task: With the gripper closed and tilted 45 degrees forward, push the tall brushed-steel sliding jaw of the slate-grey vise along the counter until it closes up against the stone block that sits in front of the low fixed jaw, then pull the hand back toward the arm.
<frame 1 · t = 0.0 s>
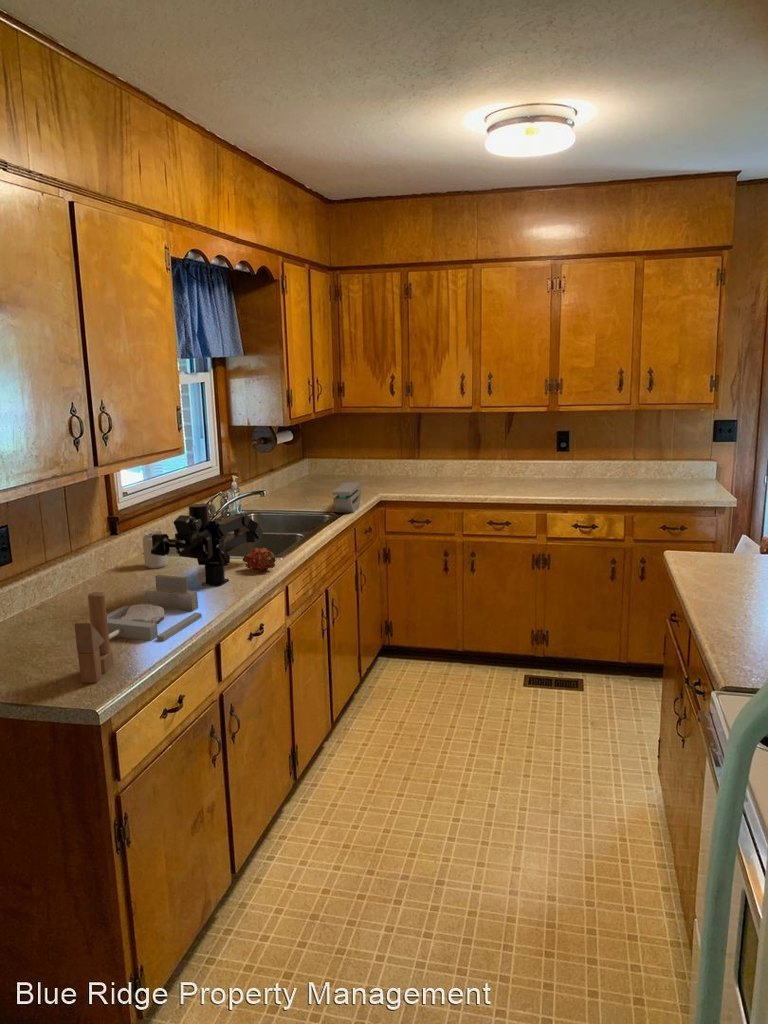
hand: (165, 553, 209), 17 cm above the worktop, tool horizontal, fingers open, 9 cm apart
stone block: (145, 624, 202), on the worktop
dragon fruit: (259, 571, 249), on the worktop
can: (156, 566, 256), on the worktop
wooden block: (98, 674, 170), on the worktop
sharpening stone: (348, 510, 343), on the worktop
vise body: (124, 634, 193), on the worktop
sliding jaw: (171, 592, 213), point 4 cm above the worktop, slide at 0.0 cm
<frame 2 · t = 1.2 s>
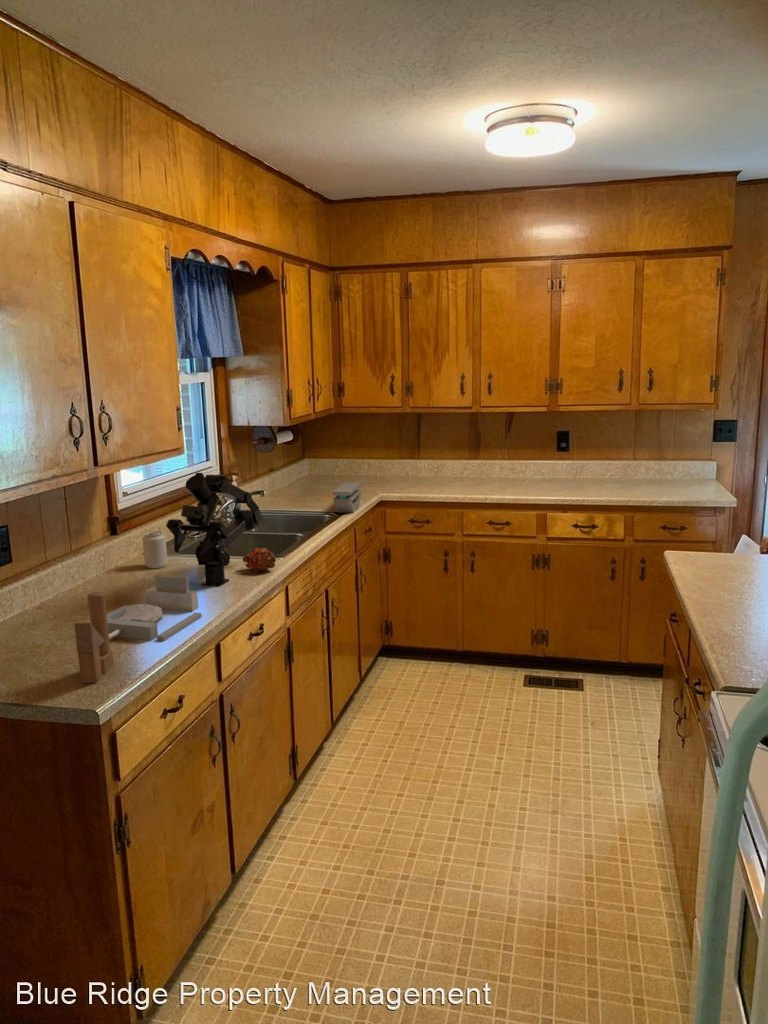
hand: (188, 552, 220), 14 cm above the worktop, tool tilted 45°, fingers open, 8 cm apart
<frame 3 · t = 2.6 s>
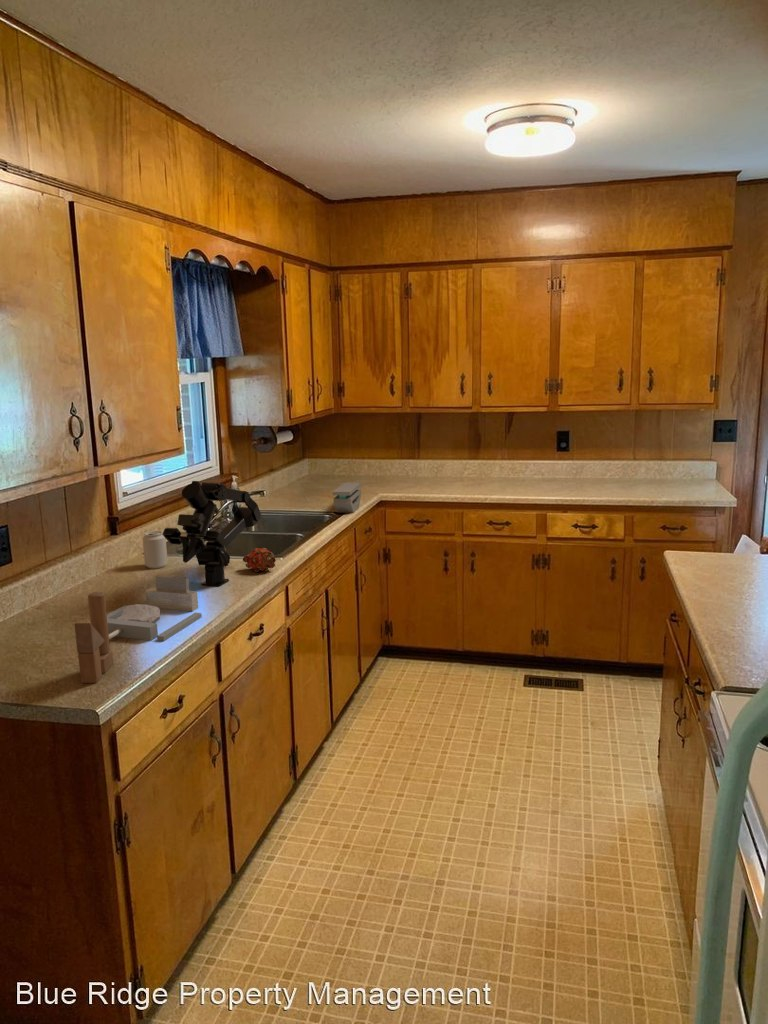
hand: (184, 561, 219), 11 cm above the worktop, tool tilted 45°, fingers closed
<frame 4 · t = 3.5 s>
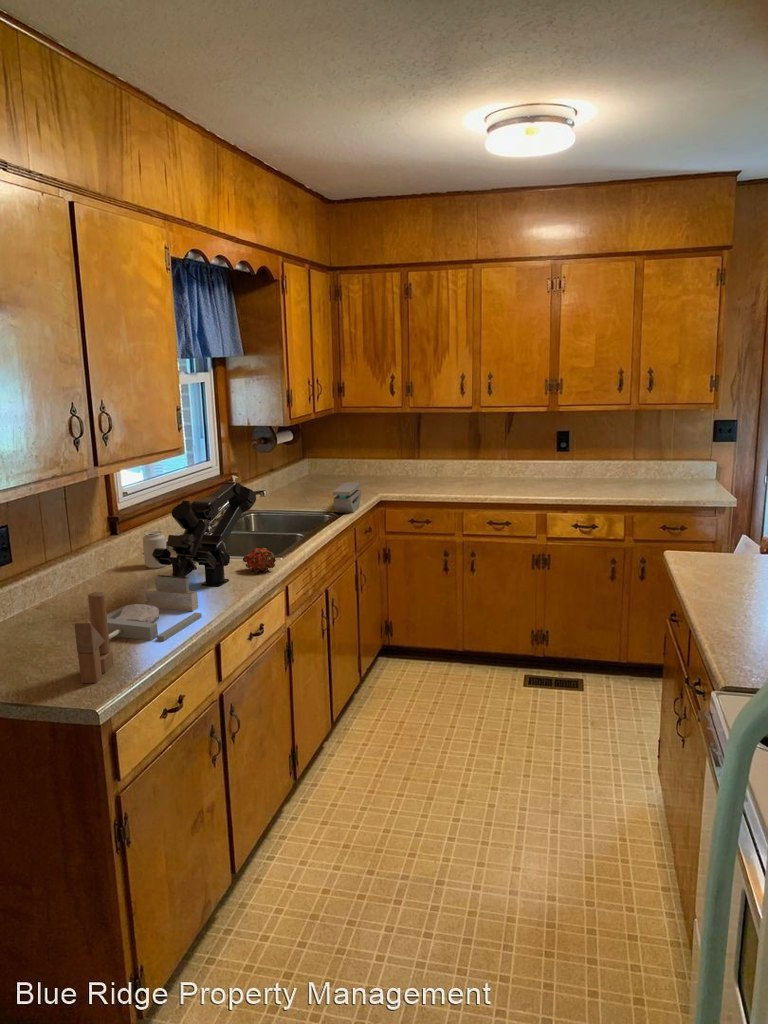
hand: (174, 583, 214), 7 cm above the worktop, tool tilted 45°, fingers closed, pressing on sliding jaw
sliding jaw: (171, 592, 213), point 4 cm above the worktop, slide at 0.0 cm, touching gripper
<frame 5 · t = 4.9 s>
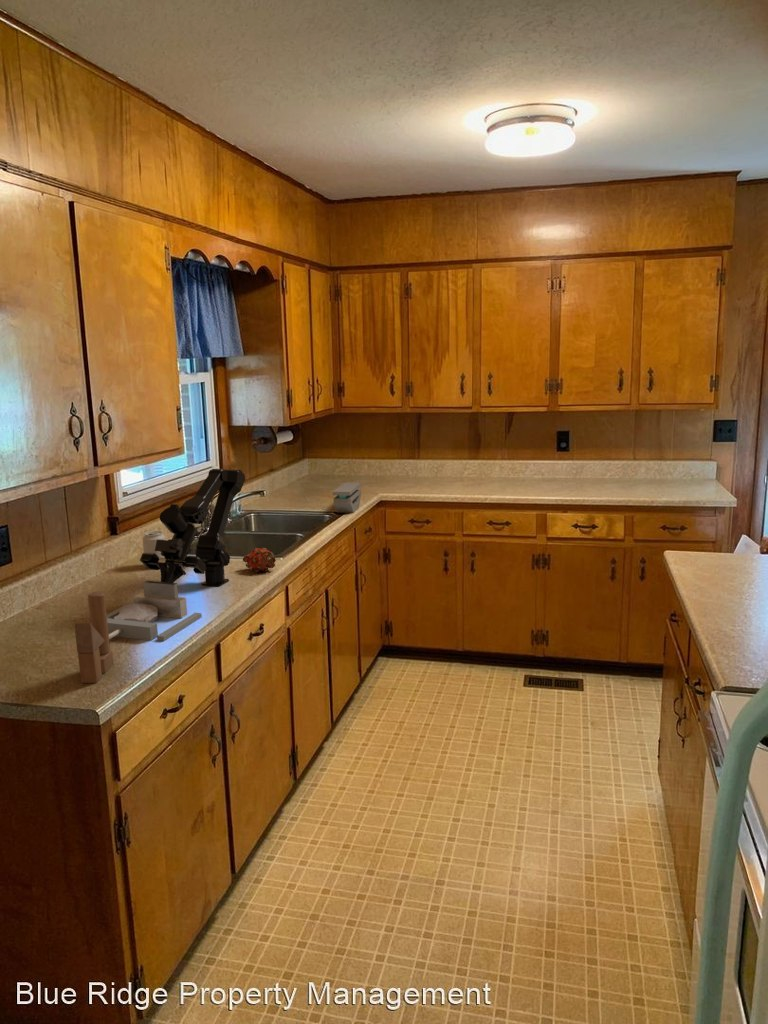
hand: (162, 589, 209), 7 cm above the worktop, tool tilted 45°, fingers closed, pressing on sliding jaw
stone block: (138, 624, 202), on the worktop, touching sliding jaw, vise body
sliding jaw: (159, 598, 207), point 5 cm above the worktop, slide at 5.8 cm, touching gripper, stone block
everything else where it was.
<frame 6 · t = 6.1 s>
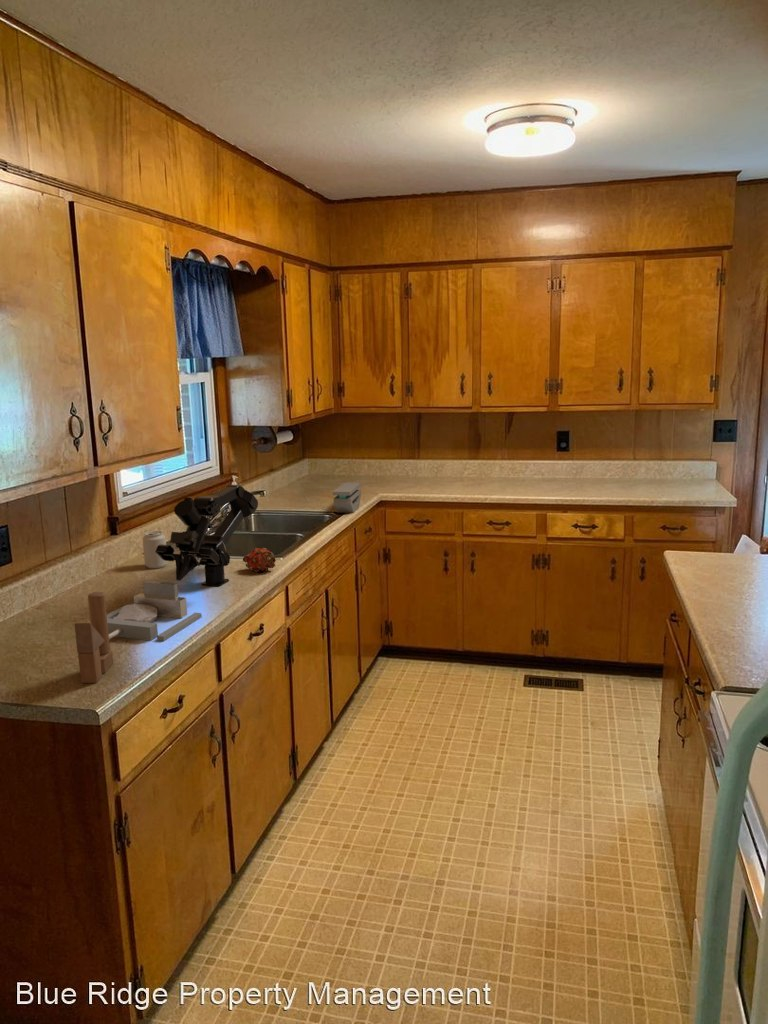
hand: (178, 580, 216), 7 cm above the worktop, tool tilted 45°, fingers closed
stone block: (137, 624, 202), on the worktop
sliding jaw: (159, 598, 207), point 5 cm above the worktop, slide at 5.8 cm
everything else where it was.
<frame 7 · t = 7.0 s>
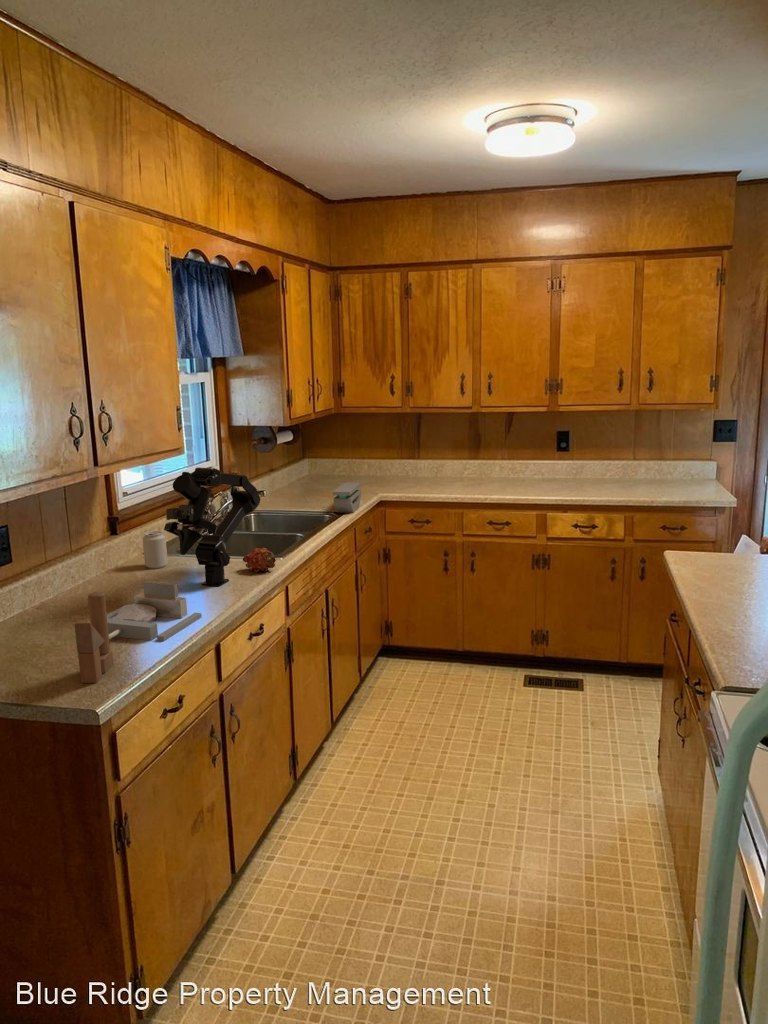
hand: (182, 554, 219), 14 cm above the worktop, tool tilted 35°, fingers closed
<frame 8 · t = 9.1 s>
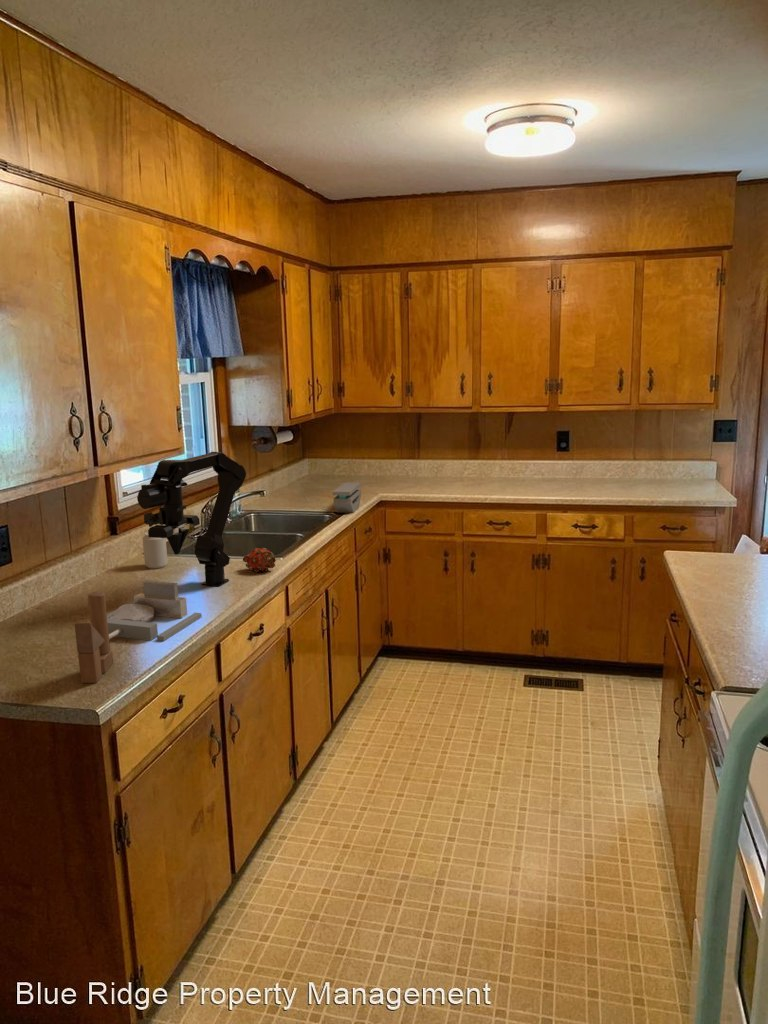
hand: (176, 554, 221), 13 cm above the worktop, tool pointing down, fingers closed
at the end: sliding jaw slide at 5.8 cm; sliding jaw 8.4 cm from the stone block (horizontally); stone block tilted 2° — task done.
